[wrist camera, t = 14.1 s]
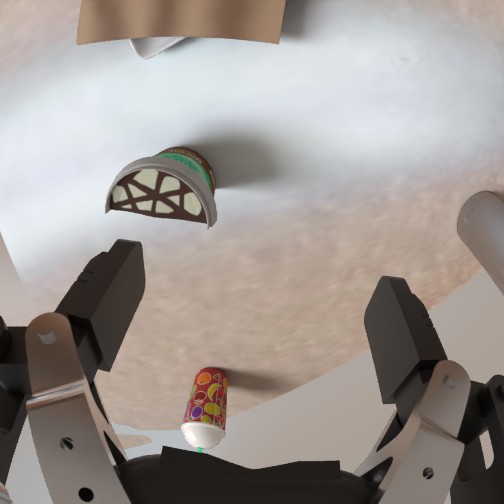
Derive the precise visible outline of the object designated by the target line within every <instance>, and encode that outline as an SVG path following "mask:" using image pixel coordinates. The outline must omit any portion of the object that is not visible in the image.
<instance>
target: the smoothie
mask: <svg viewBox="0 0 504 504" xmlns="http://www.w3.org/2000/svg"><path fill="white" fill-rule="evenodd" d="M227 386H228V380H227V378H226V376H225V374H224V373H223V372H222V371H220V370H218V369H214V368H205V369H202V370H200V372H199V373H198V374H197V375H196V377H195V380H194V384H193V387H192V391H191V394H190V398H189V401H188V405H187V408H186V412H185V415H184V419H183V422H182V425H181V430H182V431H183V434H184V437H185V439H186V440H187V442H188V443H189V444H190V445H191V446H193V447H195V448H197V449H198V452H200V453H202V450H203V449H204V450H205V449H211V448H213V447H215V446H216V445H218V444H219V442H220V441H221V440H222V438H223V437H225V423H226V404H227Z"/></svg>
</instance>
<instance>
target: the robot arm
mask: <svg viewBox="0 0 504 504" xmlns="http://www.w3.org/2000/svg"><path fill="white" fill-rule="evenodd" d="M457 230H458V234H459V236H460V238H461V239H462V241H463V242H464V243H465V244H466V246H467V247H468V248H469V249H470V250H471V252H472V253H473V254H474V256H475V257H476V258H477V260H478V261H479V262H480V263H481V265H482V266H483V267H484V269H485V270H486V271H487V273H488V274H489V275H490V277H491V278H492V280H493V281H494V282H495V284H496V285H497V287H498V288H499V290H500V291H501V293H502V294H503V295H504V202H503V201H501V200H500V199H499V198H498V197H496V196H495V195H494V194H493V193H490V192H480V193H478V194H475V195H474V196H473V197H471V198H470V199H469V200H468V201H467V202H466V204H465V205H464V206H463V208H462V210H461V212H460V215H459V218H458V223H457ZM144 290H145V270H144V261H143V250H142V244H141V242H138V241H131V240H124V239H118V240H117V241H116V242H115V243H114V245H113V246H112V247H111V249H110V250H109V252H101V253H100V254H98V255H97V256H95V257H94V258H93V259H91V260H90V261H89V263H88V264H87V265H86V267H85V268H84V270H83V272H81V274H80V275H79V276H78V278H77V281H75V282H74V283H73V285H72V286H71V288H70V289H69V291H68V292H67V294H66V295H65V297H64V298H63V299H62V301H61V302H60V304H59V305H58V307H57V308H56V310H55V311H54V312H49V313H44V314H41V315H39V316H37V317H36V318H35V319H33V320H32V321H31V322H30V324H29V325H28V326H27V327H7V326H6V324H5V322H4V320H3V318H2V317H1V316H0V504H13V502H12V500H11V499H10V498H9V494H8V492H7V490H6V488H5V483H6V480H7V476H8V472H9V469H10V465H11V462H12V458H13V455H14V452H15V449H16V446H17V442H18V439H19V436H20V433H21V431H22V428H23V425H24V422H25V419H26V417H27V414H28V419H29V424H30V428H31V433H32V437H33V441H34V445H35V449H36V452H37V456H38V459H39V463H40V466H41V469H42V473H43V476H44V479H45V482H46V485H47V487H48V490H49V493H50V496H51V498H52V501H53V504H444V501H445V499H446V497H447V494H448V492H449V490H450V495H451V504H504V376H503V375H495V376H493V377H492V378H491V379H490V380H489V381H488V382H487V383H486V384H483V383H479V382H475V381H471V380H470V378H469V376H468V374H467V372H466V370H465V369H464V368H463V367H462V366H461V365H459V364H458V363H456V362H454V361H451V360H448V359H447V356H446V354H445V351H444V349H443V346H442V344H441V342H440V339H439V337H438V335H437V332H436V330H435V328H434V327H433V324H432V321H431V319H430V318H429V315H428V312H427V310H426V308H425V306H424V304H423V303H422V302H421V301H420V300H419V299H418V297H417V296H416V295H415V294H412V293H411V291H410V288H409V286H408V284H407V282H406V280H405V279H404V278H399V277H391V276H382V277H381V279H380V280H379V282H378V285H377V287H376V289H375V291H374V293H373V295H372V298H371V300H370V302H369V304H368V306H367V308H366V311H365V316H364V325H365V329H366V333H367V337H368V341H369V345H370V349H371V353H372V357H373V361H374V365H375V369H376V374H377V378H378V383H379V388H380V392H381V397H382V402H383V404H396V407H397V410H395V411H394V413H393V414H392V416H391V418H390V420H389V422H388V423H387V425H386V427H385V429H384V430H383V432H382V434H381V436H380V437H379V439H378V441H377V443H376V444H375V446H374V448H373V449H372V451H371V453H370V454H369V455H368V457H367V458H366V459H365V461H364V462H363V463H362V464H361V465H360V466H359V467H358V468H357V469H356V470H355V472H354V473H353V474H352V473H349V472H346V471H343V470H340V461H339V460H338V461H297V462H292V463H288V464H283V465H278V466H272V467H266V468H261V469H249V468H245V467H243V466H240V465H237V464H234V463H230V462H228V461H225V460H222V459H220V458H217V457H214V456H211V455H209V454H205V453H200V452H193V451H188V450H182V449H177V448H172V447H167V446H163V448H162V453H161V454H155V455H146V456H141V457H137V458H134V459H130V460H129V459H128V457H127V455H126V453H125V451H124V449H123V447H122V445H121V443H120V441H119V439H118V438H117V436H116V434H115V432H114V430H113V427H112V425H111V422H110V420H109V417H108V415H107V412H106V410H105V407H104V404H103V402H102V399H101V396H100V393H99V391H98V388H97V385H96V382H95V379H94V377H95V375H96V372H97V370H98V369H99V370H103V371H107V372H110V370H111V368H112V365H113V363H114V360H115V358H116V355H117V353H118V351H119V348H120V346H121V344H122V341H123V339H124V337H125V334H126V332H127V330H128V328H129V325H130V323H131V321H132V319H133V316H134V314H135V312H136V310H137V308H138V305H139V303H140V301H141V299H142V297H143V294H144ZM487 430H488V431H489V435H490V439H491V444H492V447H493V452H494V460H493V463H492V465H491V466H490V467H489V468H488V469H487V470H486V467H485V461H484V456H483V451H482V447H481V443H480V438H479V436H480V435H482V434H483V433H484V432H485V431H487Z"/></svg>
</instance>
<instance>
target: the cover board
mask: <svg viewBox="0 0 504 504" xmlns="http://www.w3.org/2000/svg"><path fill="white" fill-rule="evenodd" d="M285 2H286V0H82V3H81V10H80V17H79V25H78V34H77V44H76V45H81V44H88V43H95V42H102V41H111V40H121V39H133V38H149V37H209V38H226V39H238V40H248V41H257V42H265V43H273V44H279V39H280V33H281V27H282V21H283V14H284V8H285Z"/></svg>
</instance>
